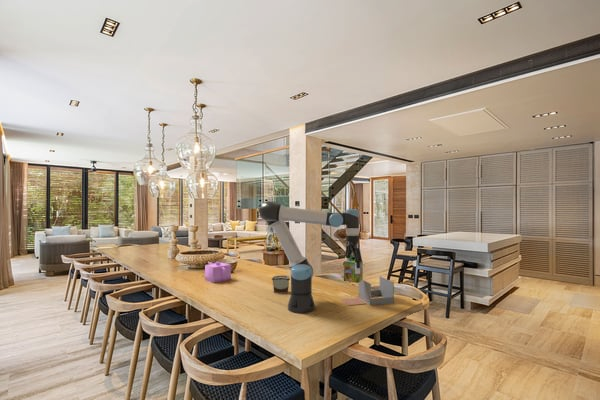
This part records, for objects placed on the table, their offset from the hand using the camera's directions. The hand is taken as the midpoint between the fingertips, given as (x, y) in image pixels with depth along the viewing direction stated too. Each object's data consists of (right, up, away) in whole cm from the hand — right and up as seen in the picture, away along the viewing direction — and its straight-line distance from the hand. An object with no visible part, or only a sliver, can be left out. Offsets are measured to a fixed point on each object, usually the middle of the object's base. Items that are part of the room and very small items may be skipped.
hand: (353, 271), depth 177 cm
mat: (0, -18, 0) cm, 18 cm away
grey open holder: (+14, -18, +3) cm, 23 cm away
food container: (-44, -19, +23) cm, 53 cm away
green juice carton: (0, -6, 0) cm, 6 cm away
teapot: (-97, -21, +58) cm, 115 cm away
